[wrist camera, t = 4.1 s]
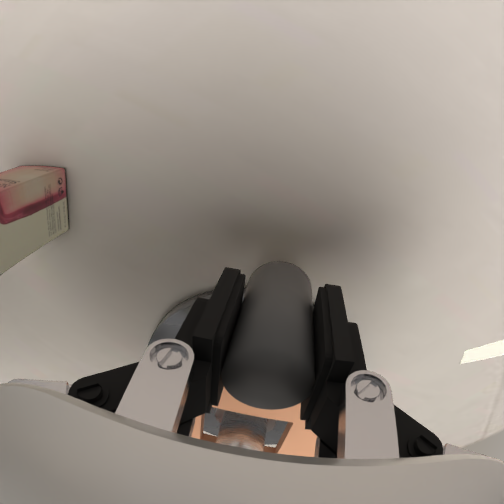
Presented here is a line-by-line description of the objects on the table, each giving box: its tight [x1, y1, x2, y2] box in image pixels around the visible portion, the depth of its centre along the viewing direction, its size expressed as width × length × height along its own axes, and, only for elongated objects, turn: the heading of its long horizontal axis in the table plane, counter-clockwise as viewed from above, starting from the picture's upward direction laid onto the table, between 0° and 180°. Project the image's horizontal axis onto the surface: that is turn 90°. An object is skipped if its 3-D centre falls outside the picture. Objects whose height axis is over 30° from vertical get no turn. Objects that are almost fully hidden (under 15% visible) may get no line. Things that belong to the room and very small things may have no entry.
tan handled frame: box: [191, 262, 317, 457], centre depth 14 cm, size 19×10×7 cm, turn 171°
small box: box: [0, 166, 69, 275], centre depth 13 cm, size 5×4×8 cm
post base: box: [148, 288, 314, 452], centre depth 16 cm, size 15×15×10 cm
